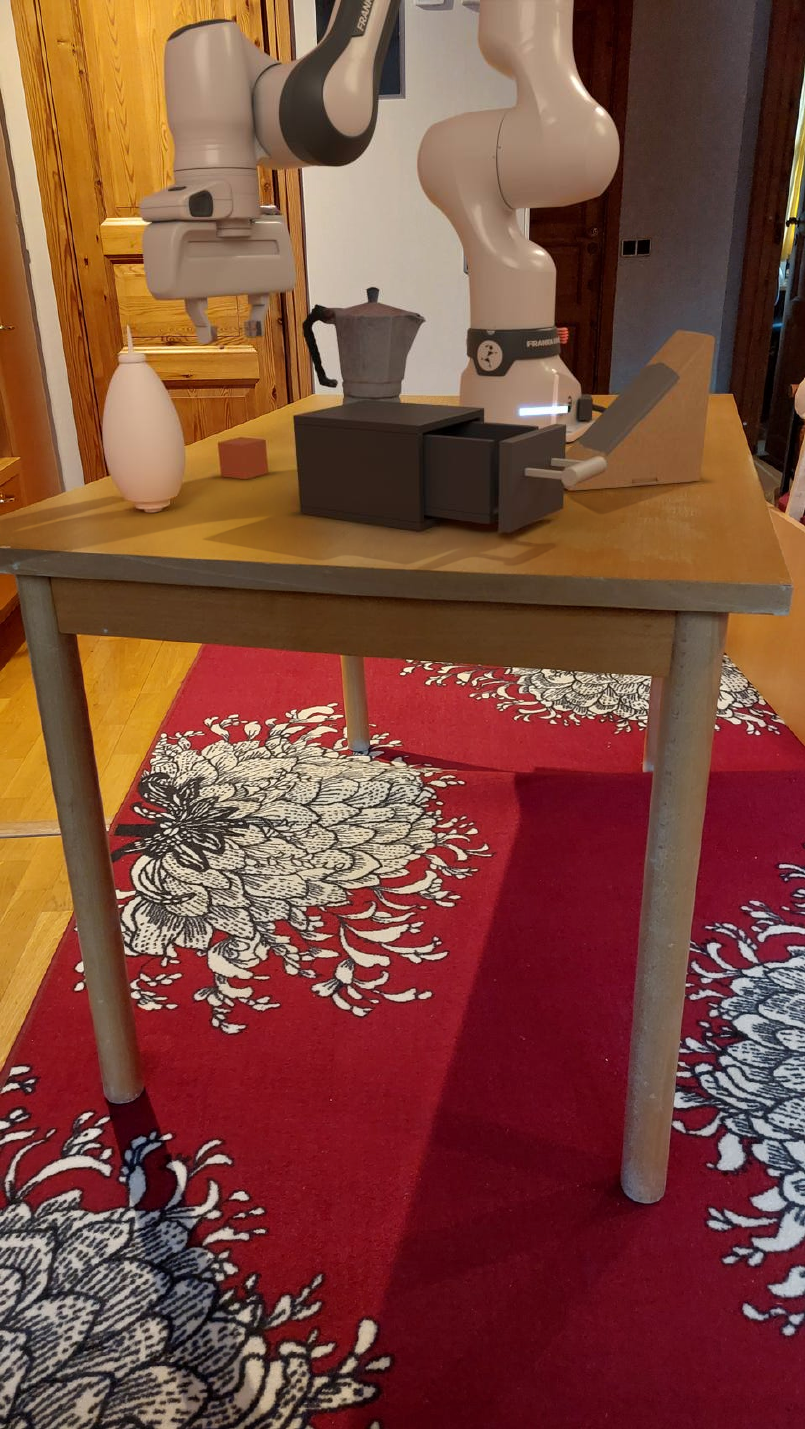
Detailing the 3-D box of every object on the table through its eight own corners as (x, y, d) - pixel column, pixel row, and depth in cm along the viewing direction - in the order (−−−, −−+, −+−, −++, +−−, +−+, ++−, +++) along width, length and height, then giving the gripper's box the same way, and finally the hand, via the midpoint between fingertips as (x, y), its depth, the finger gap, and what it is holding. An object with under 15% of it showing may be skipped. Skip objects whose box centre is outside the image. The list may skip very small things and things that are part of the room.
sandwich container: (541, 475, 112) (545, 335, 105) (666, 466, 114) (677, 329, 108) (567, 491, 104) (574, 341, 98) (701, 481, 107) (715, 334, 100)
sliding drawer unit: (614, 514, 91) (619, 428, 88) (563, 540, 83) (567, 447, 80) (444, 493, 101) (443, 415, 98) (385, 515, 93) (382, 431, 90)
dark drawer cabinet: (483, 506, 99) (484, 408, 95) (420, 531, 91) (417, 425, 87) (368, 491, 107) (364, 400, 103) (300, 513, 99) (292, 415, 95)
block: (244, 470, 120) (241, 437, 118) (268, 473, 118) (265, 439, 116) (221, 476, 117) (217, 442, 115) (245, 479, 115) (242, 445, 113)
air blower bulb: (100, 518, 100) (69, 328, 92) (138, 500, 106) (112, 322, 99) (169, 521, 98) (143, 327, 90) (204, 503, 104) (183, 321, 97)
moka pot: (421, 468, 118) (417, 287, 109) (298, 467, 121) (285, 290, 112) (435, 453, 126) (432, 284, 117) (319, 452, 129) (309, 287, 120)
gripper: (262, 206, 114) (272, 332, 120) (125, 202, 99) (145, 347, 105) (304, 203, 111) (312, 333, 117) (168, 199, 96) (186, 349, 102)
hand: (232, 340), depth 111 cm, fingers open, 6 cm apart
